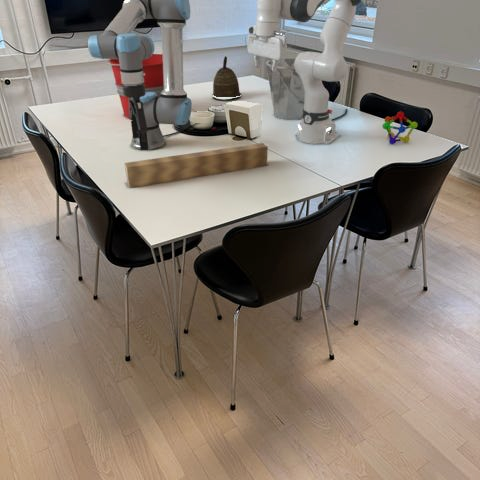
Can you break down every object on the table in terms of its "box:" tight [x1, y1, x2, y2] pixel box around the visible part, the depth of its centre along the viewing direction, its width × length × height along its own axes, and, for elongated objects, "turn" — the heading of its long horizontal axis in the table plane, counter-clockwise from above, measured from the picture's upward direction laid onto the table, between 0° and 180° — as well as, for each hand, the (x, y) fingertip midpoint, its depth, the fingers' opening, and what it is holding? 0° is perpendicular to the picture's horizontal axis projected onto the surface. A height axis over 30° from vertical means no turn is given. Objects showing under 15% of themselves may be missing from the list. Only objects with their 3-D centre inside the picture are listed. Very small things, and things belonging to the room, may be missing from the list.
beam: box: [124, 142, 269, 189], centre depth 177 cm, size 58×5×8 cm, turn 113°
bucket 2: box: [265, 57, 305, 121], centre depth 241 cm, size 30×30×28 cm
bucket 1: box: [106, 53, 164, 119], centre depth 242 cm, size 35×35×30 cm
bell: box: [212, 56, 242, 97], centre depth 278 cm, size 19×26×20 cm
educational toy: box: [382, 110, 418, 145], centre depth 207 cm, size 16×13×15 cm
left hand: (140, 143), depth 163 cm, fingers open, 13 cm apart
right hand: (265, 69), depth 171 cm, fingers open, 8 cm apart
